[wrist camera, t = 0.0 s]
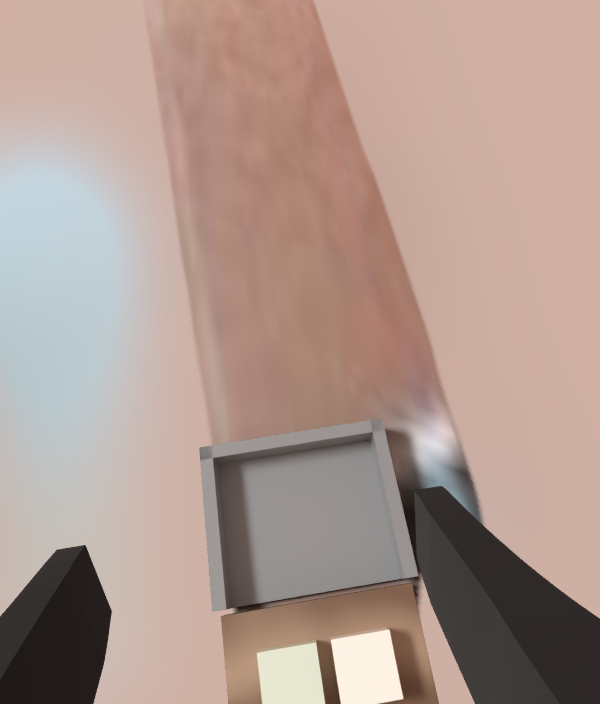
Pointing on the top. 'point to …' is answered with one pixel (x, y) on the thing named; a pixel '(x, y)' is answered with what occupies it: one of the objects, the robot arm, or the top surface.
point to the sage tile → (291, 674)
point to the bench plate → (320, 624)
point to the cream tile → (366, 667)
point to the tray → (303, 514)
